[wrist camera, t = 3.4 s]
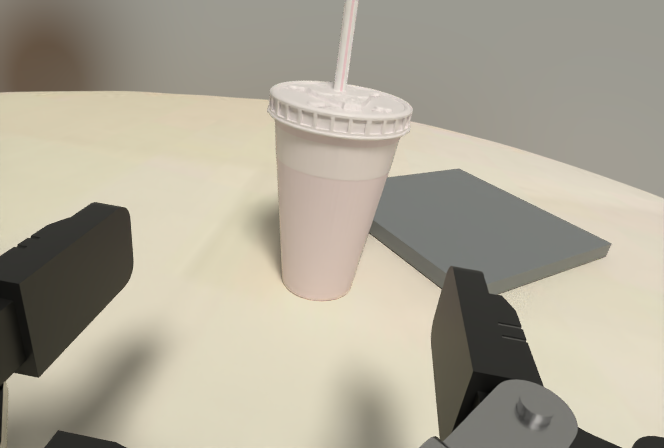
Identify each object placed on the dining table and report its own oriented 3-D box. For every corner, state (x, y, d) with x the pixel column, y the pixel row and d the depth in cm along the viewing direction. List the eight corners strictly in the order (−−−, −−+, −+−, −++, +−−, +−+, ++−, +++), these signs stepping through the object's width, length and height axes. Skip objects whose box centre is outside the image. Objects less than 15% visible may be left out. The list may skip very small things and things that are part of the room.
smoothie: (359, 249, 28) (404, -7, 22) (393, 316, 23) (466, 1, 17) (252, 248, 27) (268, -27, 21) (260, 320, 21) (287, -25, 15)
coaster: (323, 197, 35) (325, 185, 34) (456, 179, 42) (459, 168, 42) (464, 305, 24) (469, 290, 24) (605, 256, 32) (611, 243, 31)
